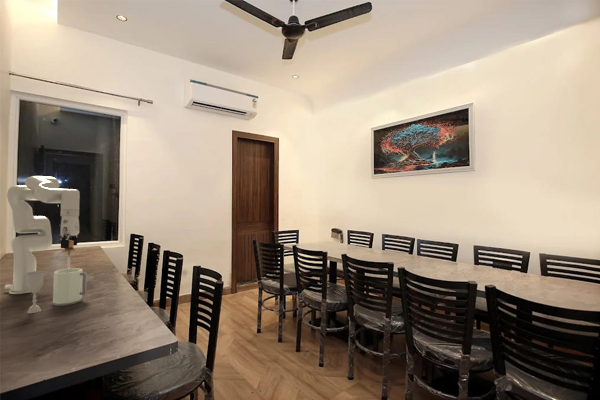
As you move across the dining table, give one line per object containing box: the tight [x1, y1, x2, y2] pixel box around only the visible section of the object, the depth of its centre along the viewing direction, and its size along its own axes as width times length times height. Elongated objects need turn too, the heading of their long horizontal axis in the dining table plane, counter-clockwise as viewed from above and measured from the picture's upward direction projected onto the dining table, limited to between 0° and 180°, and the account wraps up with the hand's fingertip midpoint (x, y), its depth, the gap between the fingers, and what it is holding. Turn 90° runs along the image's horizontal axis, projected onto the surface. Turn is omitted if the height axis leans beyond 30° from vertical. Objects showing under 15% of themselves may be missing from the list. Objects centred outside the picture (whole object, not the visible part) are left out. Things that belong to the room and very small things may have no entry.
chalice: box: [25, 270, 46, 314], centre depth 139 cm, size 7×7×18 cm
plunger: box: [61, 239, 77, 273], centre depth 152 cm, size 6×6×21 cm
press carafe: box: [52, 267, 88, 307], centre depth 152 cm, size 14×12×16 cm
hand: (69, 246), depth 152 cm, fingers open, 9 cm apart
